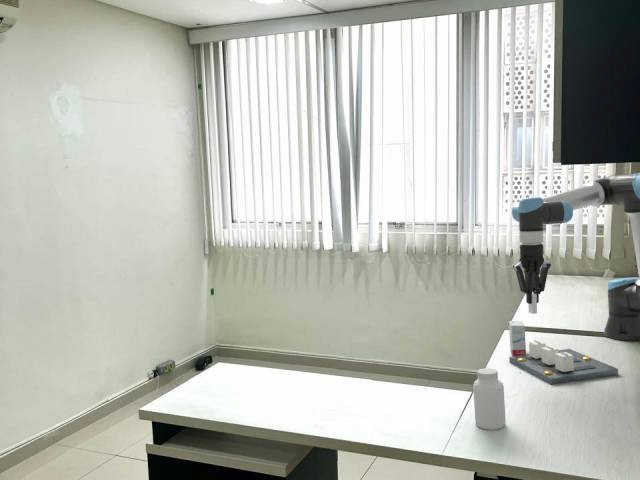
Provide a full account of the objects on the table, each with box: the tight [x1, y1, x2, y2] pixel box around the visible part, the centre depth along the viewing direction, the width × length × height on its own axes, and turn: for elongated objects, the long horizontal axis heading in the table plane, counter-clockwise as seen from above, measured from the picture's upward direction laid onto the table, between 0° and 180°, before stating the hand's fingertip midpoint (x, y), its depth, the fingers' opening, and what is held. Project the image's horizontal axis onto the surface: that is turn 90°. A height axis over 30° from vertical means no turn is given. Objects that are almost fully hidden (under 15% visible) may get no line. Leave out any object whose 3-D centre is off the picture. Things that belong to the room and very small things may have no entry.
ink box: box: [508, 320, 527, 357], centre depth 224 cm, size 9×5×12 cm, turn 168°
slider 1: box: [528, 339, 547, 359], centre depth 212 cm, size 4×4×5 cm
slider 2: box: [541, 345, 560, 365], centre depth 204 cm, size 4×4×5 cm
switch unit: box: [508, 348, 619, 386], centre depth 205 cm, size 24×26×2 cm
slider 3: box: [555, 352, 574, 372], centre depth 196 cm, size 4×4×5 cm
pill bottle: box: [472, 367, 506, 431], centre depth 163 cm, size 8×8×15 cm
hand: (532, 312), depth 204 cm, fingers closed
